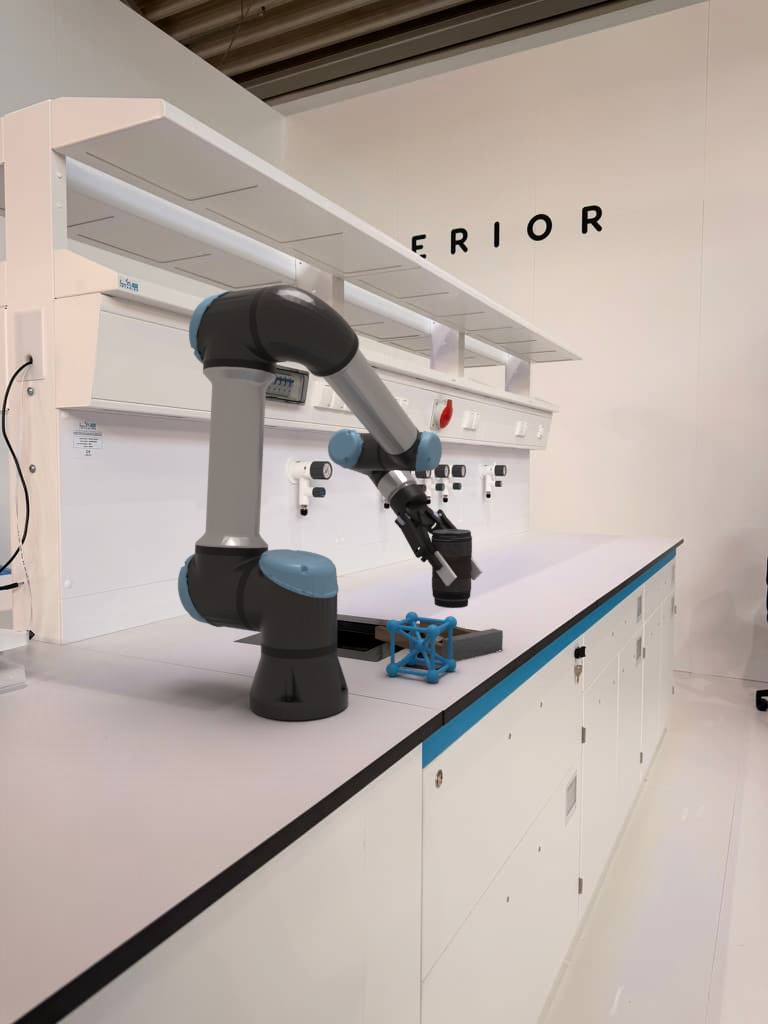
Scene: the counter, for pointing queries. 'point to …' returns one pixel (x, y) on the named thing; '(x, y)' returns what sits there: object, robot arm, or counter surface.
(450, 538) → the camera lens
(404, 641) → the guide rails
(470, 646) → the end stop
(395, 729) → the counter surface
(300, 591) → the robot arm
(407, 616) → the molecular structure
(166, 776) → the counter surface
